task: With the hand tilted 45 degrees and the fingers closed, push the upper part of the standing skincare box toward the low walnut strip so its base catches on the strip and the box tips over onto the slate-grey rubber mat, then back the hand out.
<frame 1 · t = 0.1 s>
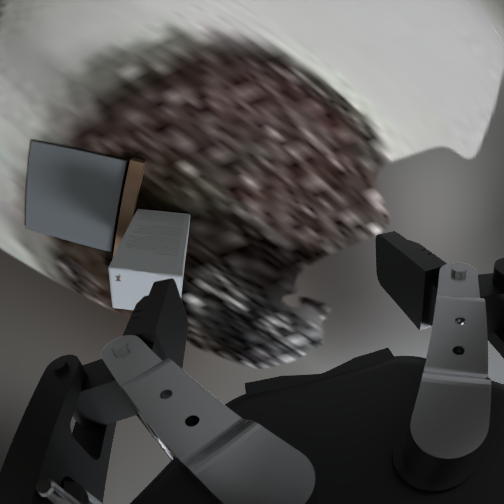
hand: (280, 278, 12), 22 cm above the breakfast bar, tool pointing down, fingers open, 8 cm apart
grey mat: (70, 196, 32), on the breakfast bar
skincare box: (163, 227, 35), on the breakfast bar
walnut strip: (127, 218, 34), on the breakfast bar
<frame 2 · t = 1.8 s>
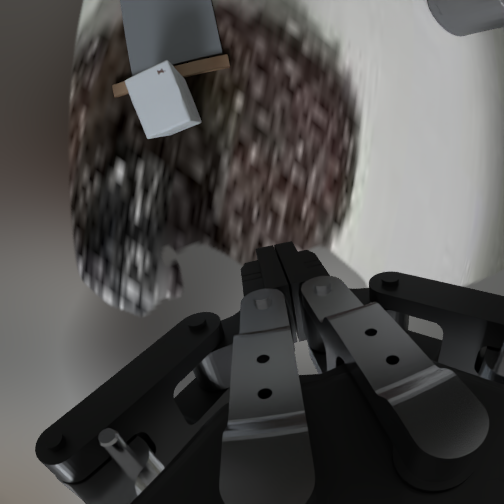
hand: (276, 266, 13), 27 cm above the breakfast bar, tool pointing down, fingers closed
grey mat: (168, 22, 30), on the breakfast bar
skincare box: (177, 107, 35), on the breakfast bar
walnut strip: (170, 75, 33), on the breakfast bar
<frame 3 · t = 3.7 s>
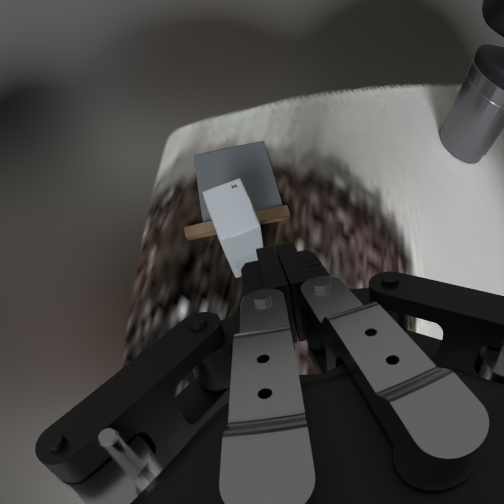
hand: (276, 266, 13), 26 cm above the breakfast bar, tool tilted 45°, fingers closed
grey mat: (235, 180, 46), on the breakfast bar
skincare box: (243, 254, 42), on the breakfast bar
walnut strip: (237, 224, 43), on the breakfast bar
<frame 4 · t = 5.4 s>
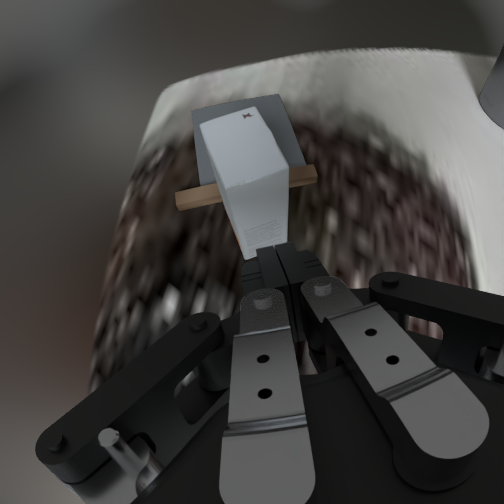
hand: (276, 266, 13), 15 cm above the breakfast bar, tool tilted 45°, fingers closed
grey mat: (243, 136, 35), on the breakfast bar
skincare box: (255, 227, 31), on the breakfast bar
walnut strip: (246, 189, 32), on the breakfast bar
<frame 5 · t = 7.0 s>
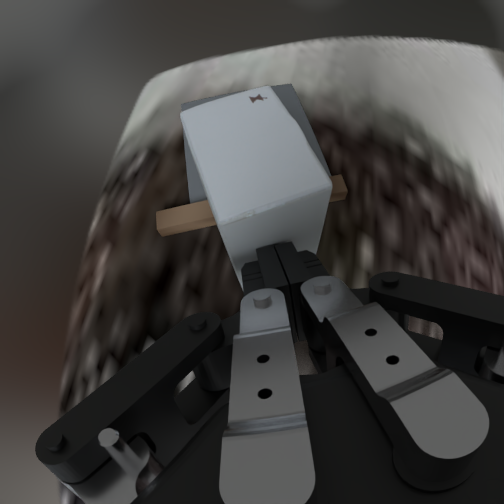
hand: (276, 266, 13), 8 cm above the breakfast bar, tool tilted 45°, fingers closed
grey mat: (247, 136, 27), on the breakfast bar
skincare box: (264, 261, 22), on the breakfast bar, touching gripper
walnut strip: (252, 208, 24), on the breakfast bar
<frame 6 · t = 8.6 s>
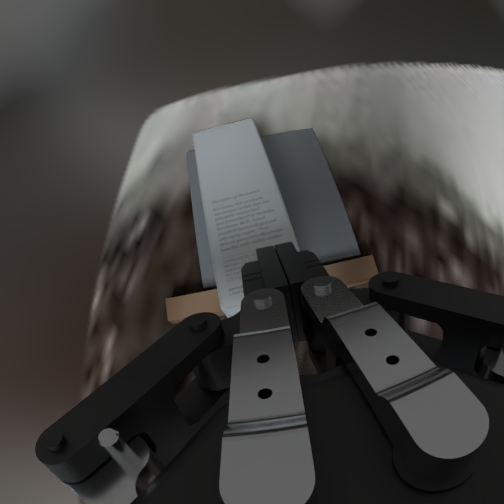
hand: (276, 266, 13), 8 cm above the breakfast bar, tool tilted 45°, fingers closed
grey mat: (265, 198, 24), on the breakfast bar
skincare box: (271, 322, 16), point 5 cm above the breakfast bar, touching grey mat, walnut strip
walnut strip: (273, 293, 21), on the breakfast bar
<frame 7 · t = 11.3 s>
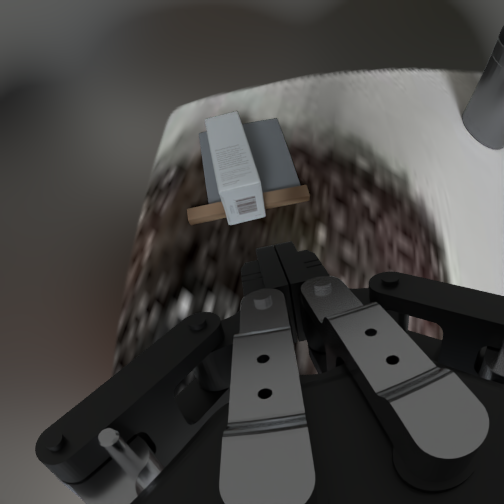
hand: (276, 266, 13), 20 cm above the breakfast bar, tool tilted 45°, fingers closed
grey mat: (246, 158, 40), on the breakfast bar
skincare box: (243, 207, 32), point 5 cm above the breakfast bar, touching grey mat, walnut strip
walnut strip: (248, 206, 37), on the breakfast bar
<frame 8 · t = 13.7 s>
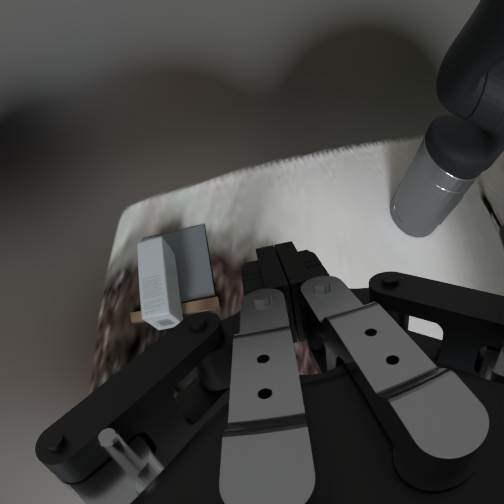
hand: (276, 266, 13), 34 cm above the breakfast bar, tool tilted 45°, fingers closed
grey mat: (176, 266, 50), on the breakfast bar
skincare box: (163, 324, 42), point 5 cm above the breakfast bar, touching grey mat, walnut strip
walnut strip: (175, 311, 48), on the breakfast bar
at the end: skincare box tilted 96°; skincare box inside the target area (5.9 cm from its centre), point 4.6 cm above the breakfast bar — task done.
